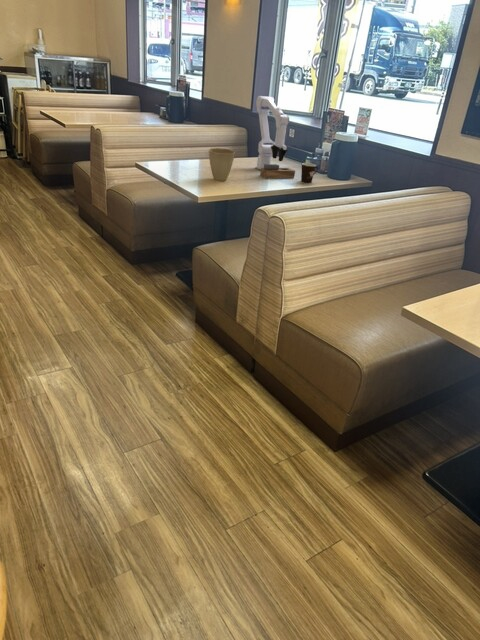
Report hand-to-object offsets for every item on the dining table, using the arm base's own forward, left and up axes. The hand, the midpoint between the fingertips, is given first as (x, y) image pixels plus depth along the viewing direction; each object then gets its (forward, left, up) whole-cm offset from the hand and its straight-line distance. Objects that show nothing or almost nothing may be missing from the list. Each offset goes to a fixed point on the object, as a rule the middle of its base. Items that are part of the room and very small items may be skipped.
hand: (277, 159), depth 291 cm
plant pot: (+9, -42, -10) cm, 44 cm away
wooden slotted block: (+4, -1, -9) cm, 10 cm away
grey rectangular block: (+4, -6, -8) cm, 11 cm away
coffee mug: (+17, +14, -10) cm, 24 cm away
